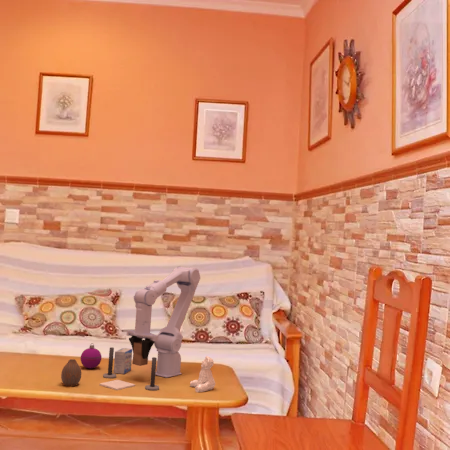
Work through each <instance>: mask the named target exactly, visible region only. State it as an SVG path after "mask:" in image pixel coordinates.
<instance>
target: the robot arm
mask: <svg viewBox="0 0 450 450" xmlns="http://www.w3.org/2000/svg"><path fill="white" fill-rule="evenodd" d="M200 274H201V273H200V270H199V269H198V268H197V267H186V266H181V265H179V266H176V267H175V268H173V270H172V272H171V273H169V274H168V275H167V276H165V278H163V279H162V280H161V279H154V280H153V282H152V283H150V284H148V285H146V286H145V287H144V288H139V289H137V291H135V293H134V296H133V301H134V303H135V304H134V305H135V311H136V312H135V326H134V330H133V329H130V330H129V329H128V330H126V336H130V337H129V338H128V341H129V343H130V345H131V349H132V350H133V349H134V342H141V343H142V358H143V359H147V358H148V359H149V355H150V353H151V350H152V348H153V345H154V348H155V349H156V352H157V360H156V374H155V376H159V377H163V378H170V377H171V378H172V377H174V376H179V375H182V372H181V365H182V356H181V354H180V353H179V351H180V349H181V347H182V340H183V339H184V336H183V334H182V333H181V328H182V325H183V323H184V320H185V318H186V316H187V313H188V311H189V308H190V305H191V304H192V301H193V298H194V296H195V293H196V290H197V287H198V286H199V283H200V280H201V275H200ZM174 284H176V285H177V287H178V289H180V293H179V296H178V298H177V301H176V302H175V305H174V308H173V311H172V312H171V316H170V317H169V320H168V322H167V325H166V326H165V327H163V328H161V329H160V330H159V333H158V334H154V333H152V332H151V323H152V312H153V311H152V310H153V305H154V304H155V303H156V300H157V299H158V298H159V297H160V296H162V295H164V294H165V293H166V292H167V288H169V287H171V286H172V285H174Z"/></svg>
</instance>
